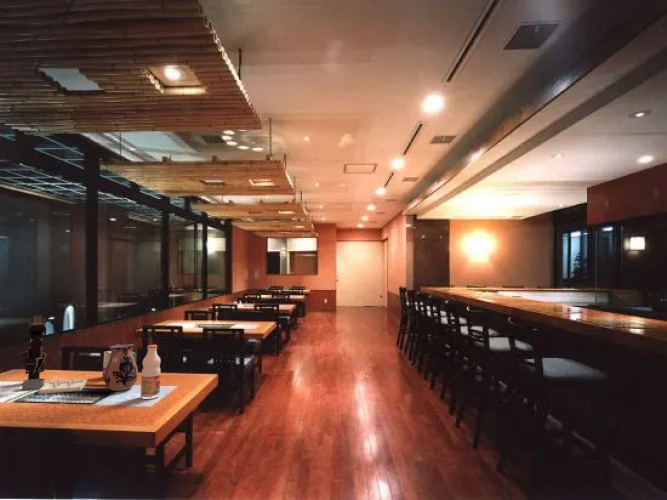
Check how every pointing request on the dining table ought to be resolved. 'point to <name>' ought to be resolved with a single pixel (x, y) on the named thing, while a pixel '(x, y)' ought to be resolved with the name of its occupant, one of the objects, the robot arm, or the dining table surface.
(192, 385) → the dining table surface
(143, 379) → the fruit juice
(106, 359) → the candy bar box
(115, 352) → the ceramic pitcher
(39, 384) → the grey rectangular block
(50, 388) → the tray
